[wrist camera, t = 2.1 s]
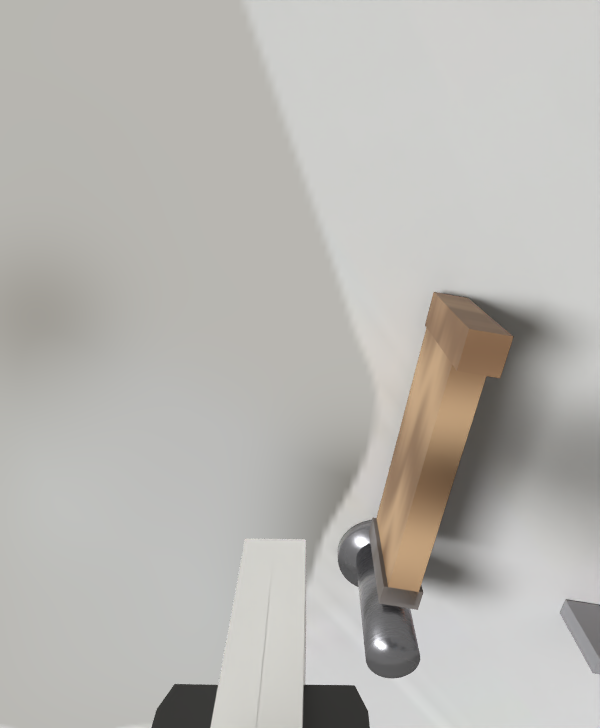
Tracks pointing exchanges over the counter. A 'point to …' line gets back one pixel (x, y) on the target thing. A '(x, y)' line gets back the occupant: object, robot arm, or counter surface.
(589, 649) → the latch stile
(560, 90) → the counter surface
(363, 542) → the hinge post
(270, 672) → the robot arm
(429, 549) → the gate
